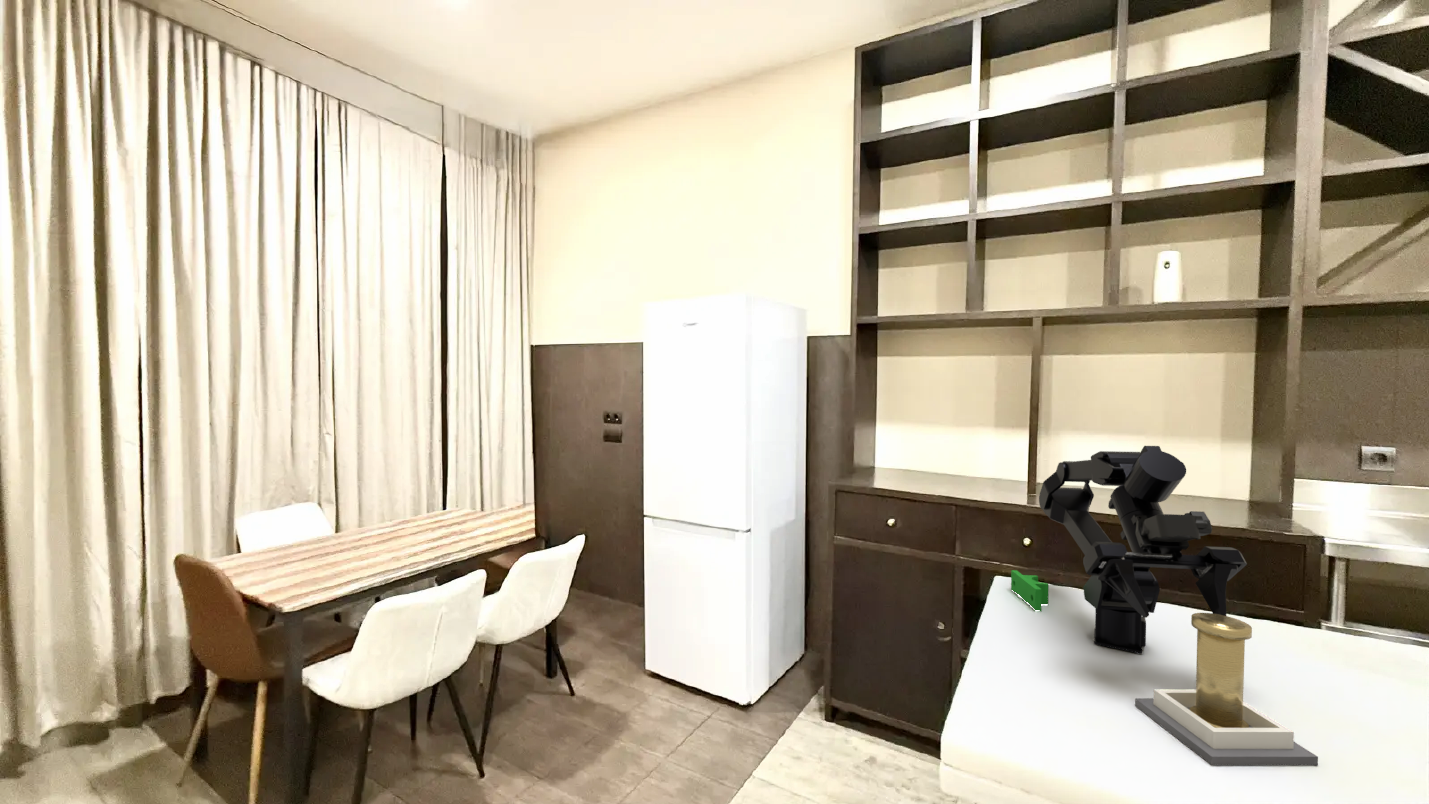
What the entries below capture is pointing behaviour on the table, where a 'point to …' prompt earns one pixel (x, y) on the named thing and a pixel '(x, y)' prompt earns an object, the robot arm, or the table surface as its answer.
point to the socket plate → (1225, 733)
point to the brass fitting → (1220, 669)
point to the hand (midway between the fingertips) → (1184, 618)
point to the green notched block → (1030, 589)
